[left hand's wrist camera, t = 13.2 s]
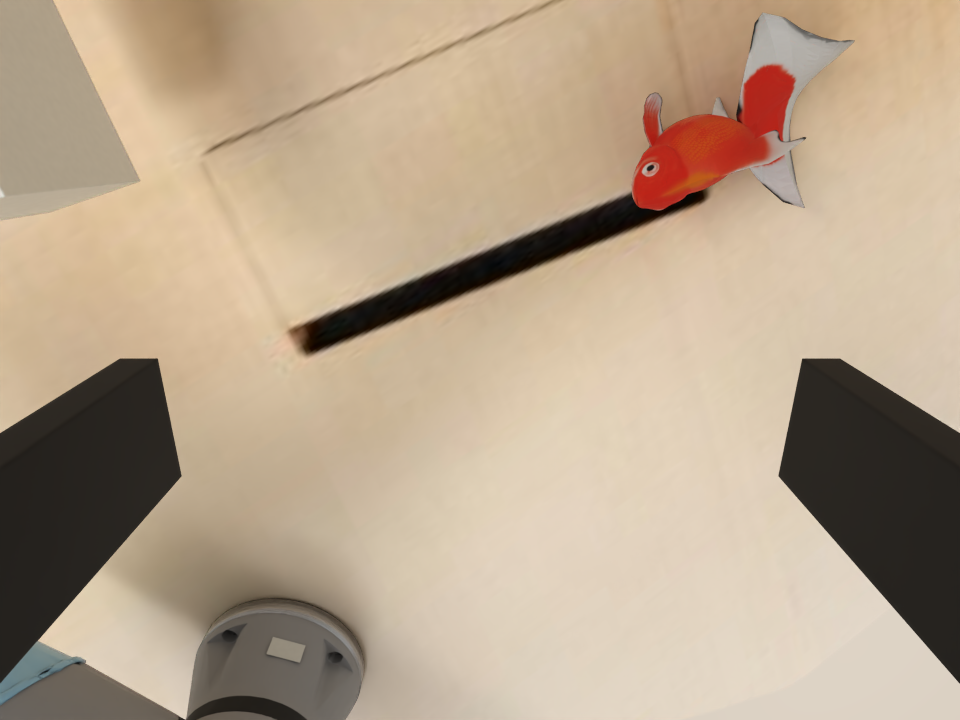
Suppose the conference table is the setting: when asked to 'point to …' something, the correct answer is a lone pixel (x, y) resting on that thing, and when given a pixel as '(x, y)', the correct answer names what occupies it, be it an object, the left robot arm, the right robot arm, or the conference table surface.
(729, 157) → the fish
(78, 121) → the bar
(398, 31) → the conference table surface
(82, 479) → the left robot arm
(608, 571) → the conference table surface
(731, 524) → the conference table surface
